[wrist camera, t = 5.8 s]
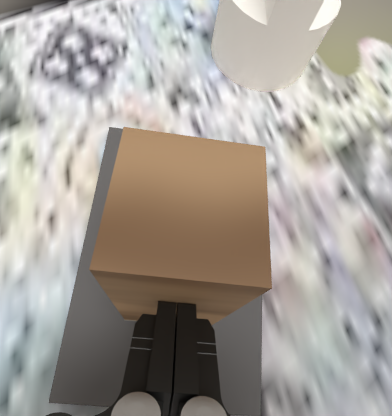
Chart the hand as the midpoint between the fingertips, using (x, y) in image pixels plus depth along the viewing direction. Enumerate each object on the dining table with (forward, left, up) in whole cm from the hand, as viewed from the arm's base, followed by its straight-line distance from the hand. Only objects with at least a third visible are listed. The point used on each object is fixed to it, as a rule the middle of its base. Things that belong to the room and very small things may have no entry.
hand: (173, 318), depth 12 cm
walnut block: (-2, -1, -7) cm, 7 cm away
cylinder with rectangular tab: (-24, -5, -8) cm, 26 cm away
